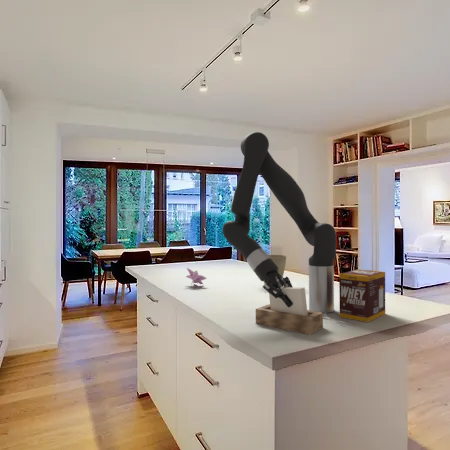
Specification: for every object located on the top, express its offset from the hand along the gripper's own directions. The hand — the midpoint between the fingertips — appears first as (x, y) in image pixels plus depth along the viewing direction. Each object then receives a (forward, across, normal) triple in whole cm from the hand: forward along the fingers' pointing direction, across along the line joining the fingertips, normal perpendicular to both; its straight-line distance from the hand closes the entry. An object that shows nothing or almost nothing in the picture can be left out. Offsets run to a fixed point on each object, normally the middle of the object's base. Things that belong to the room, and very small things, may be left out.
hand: (293, 304), depth 117 cm
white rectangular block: (+2, 0, +4) cm, 5 cm away
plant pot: (-26, +55, +36) cm, 71 cm away
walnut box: (+4, 0, +6) cm, 7 cm away
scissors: (+9, +15, +2) cm, 17 cm away
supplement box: (+14, +27, -4) cm, 31 cm away
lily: (-49, +31, +59) cm, 83 cm away
